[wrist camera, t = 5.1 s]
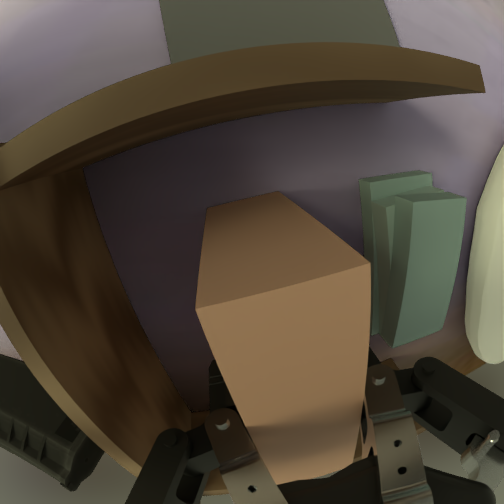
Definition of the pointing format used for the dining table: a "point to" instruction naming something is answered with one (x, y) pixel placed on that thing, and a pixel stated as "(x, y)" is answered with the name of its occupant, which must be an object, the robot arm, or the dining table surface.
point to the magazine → (42, 428)
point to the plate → (487, 271)
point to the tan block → (287, 331)
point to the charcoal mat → (270, 24)
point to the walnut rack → (91, 238)
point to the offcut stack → (410, 253)
